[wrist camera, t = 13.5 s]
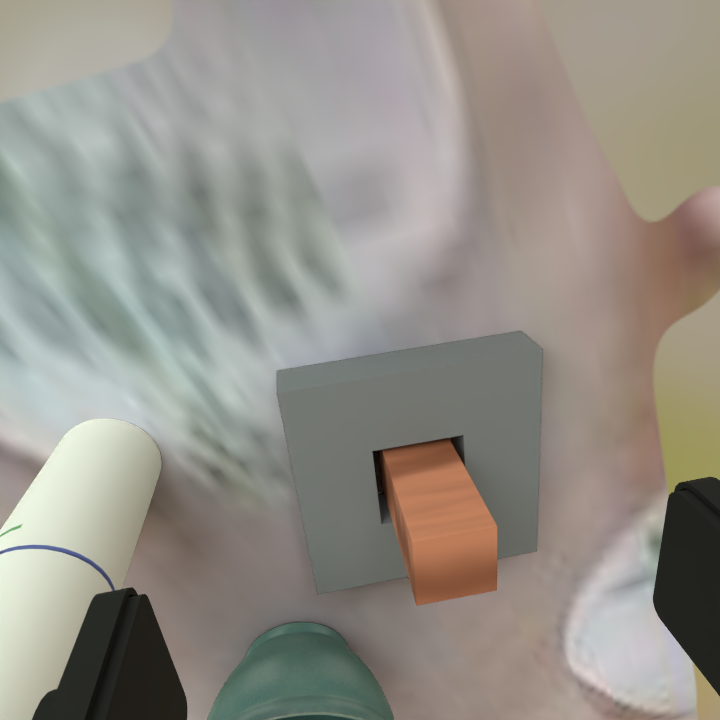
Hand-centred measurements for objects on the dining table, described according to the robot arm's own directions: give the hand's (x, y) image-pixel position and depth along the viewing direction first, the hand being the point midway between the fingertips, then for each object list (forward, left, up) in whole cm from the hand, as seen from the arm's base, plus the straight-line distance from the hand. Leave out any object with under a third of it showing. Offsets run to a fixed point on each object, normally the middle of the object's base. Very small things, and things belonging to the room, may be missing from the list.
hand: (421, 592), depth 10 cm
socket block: (+17, +5, -28) cm, 33 cm away
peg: (+17, +5, -28) cm, 33 cm away
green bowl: (+37, -7, -28) cm, 47 cm away
